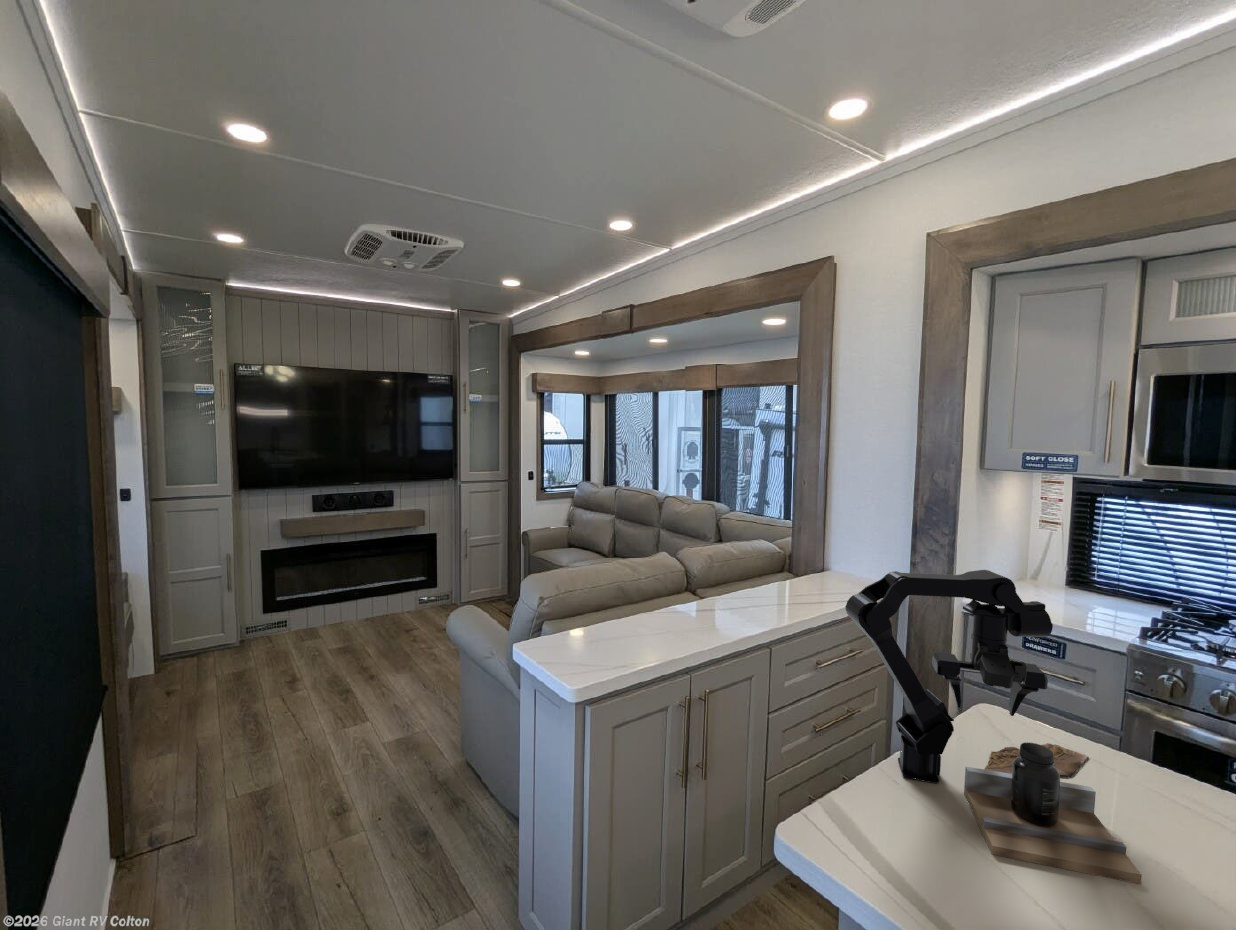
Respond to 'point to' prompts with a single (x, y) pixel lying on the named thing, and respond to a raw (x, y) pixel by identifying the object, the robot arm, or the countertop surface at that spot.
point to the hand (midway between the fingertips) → (984, 711)
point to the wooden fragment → (1063, 757)
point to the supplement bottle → (1035, 785)
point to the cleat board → (1047, 829)
